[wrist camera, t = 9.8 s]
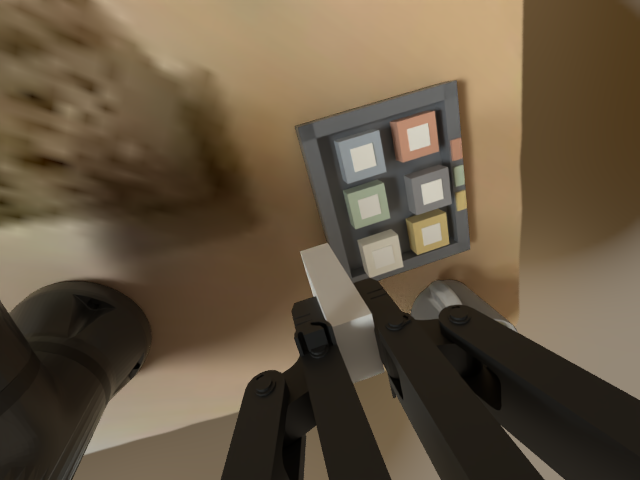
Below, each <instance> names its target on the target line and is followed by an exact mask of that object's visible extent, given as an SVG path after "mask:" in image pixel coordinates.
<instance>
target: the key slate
mask: <svg viewBox="0 0 640 480" xmlns="http://www.w3.org/2000/svg"><path fill="white" fill-rule="evenodd" d="M334 144H335V148H336V152H337V157H338V161H339V165H340V169H341V173H342V178H343V180H344V181H345V182H346V183H347V184H349V183H352V182H355V181H359V180H362V179H365V178H368V177H371V176H375V175H378V174H381V173H384V172H387V171H386V166H385V160H384V155H383V149H382V144H381V138H380V132H379V130H375V129H371V130H368V131H364V132H361V133H358V134H354V135H351V136H348V137H344V138H341V139H338V140H334Z"/></svg>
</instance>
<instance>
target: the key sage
mask: <svg viewBox="0 0 640 480" xmlns="http://www.w3.org/2000/svg"><path fill="white" fill-rule="evenodd" d="M343 194H344V198H345V202H346V206H347V210H348V214H349V219H350V223H351V225H352V226H353V227H354V228H355V229H358V228H362V227H365V226H368V225H371V224H374V223H377V222H380V221H383V220H386V219H389V218H390V213H389V208H388V203H387V197H386V192H385V186H384V183H383V182H381V181H379V180H374V181H371V182H368V183H365V184H362V185H359V186H355V187H352V188H349V189H346V190H343Z"/></svg>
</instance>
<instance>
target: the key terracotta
mask: <svg viewBox="0 0 640 480" xmlns="http://www.w3.org/2000/svg"><path fill="white" fill-rule="evenodd" d="M390 127H391V133H392V139H393V146H394V152H395V158H396V160H397V161H400V162H406V161H410V160H413V159H416V158H419V157H422V156H426V155H429V154H432V153H435V152H438V151H439V145H438V136H437V127H436V118H435V111H423V112H420V113H417V114H413V115H410V116H407V117H403V118H400V119H397V120H394V121H390Z"/></svg>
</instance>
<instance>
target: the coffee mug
mask: <svg viewBox="0 0 640 480" xmlns="http://www.w3.org/2000/svg"><path fill="white" fill-rule="evenodd" d="M450 305H466V306H469V307H472V308H474V309H476V310H478V311H479V312H481V313H483V314H485V315H487V316H488V317H490V318H492V319H494V320H496V321H497V322H499V323H501V324H503V325H505V326H507V327H508V328H510V329H512V330H514V331H516V332H517V330H516V328H515V327H514V326H513V325H512V324H511V323H510V322H509V321H508V320H507V319H505V318H504V317H503V316H502V315H500V314H499V313H498V312H497V311H496V310H494V309H493V308H492V307H491V306H490V305H488V304H487V303H486V302H485V301H483V300H482V299H481V298H480V297H479V296H477V295H476V294H475V293H474V292H473V291H471V290H470V289H469V288H468V287H467V286H465V285H464V284H463V283H461V282H459V281H455V280H443V281H440V280H436V281H434V282H432V283H431V284H430V286H429V287H427V288H426V289H425V290H423V291H422V292H421V293H420V294H419V296H418V297H417V298H416V300H415V302H414V304H413V307H412V310H411V316H412V317H414V319H416V320H431V319H439V318H438V316H439V313H440V311H441V310H442V309H444V308H445V307H448V306H450ZM517 333H518V332H517Z"/></svg>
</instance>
